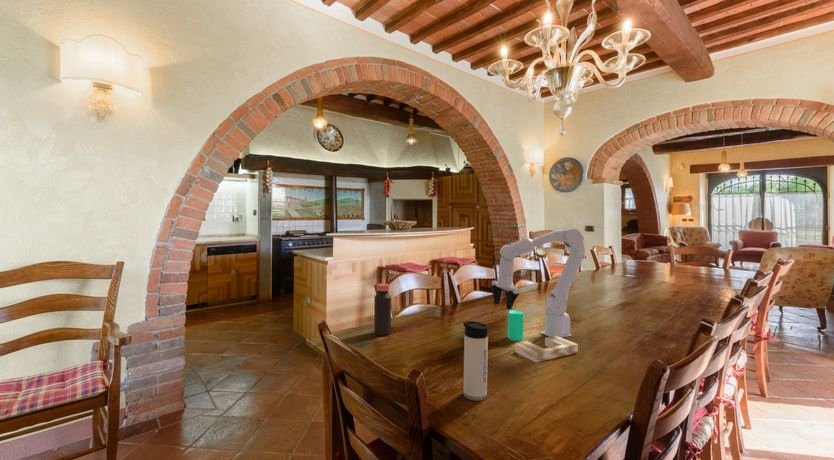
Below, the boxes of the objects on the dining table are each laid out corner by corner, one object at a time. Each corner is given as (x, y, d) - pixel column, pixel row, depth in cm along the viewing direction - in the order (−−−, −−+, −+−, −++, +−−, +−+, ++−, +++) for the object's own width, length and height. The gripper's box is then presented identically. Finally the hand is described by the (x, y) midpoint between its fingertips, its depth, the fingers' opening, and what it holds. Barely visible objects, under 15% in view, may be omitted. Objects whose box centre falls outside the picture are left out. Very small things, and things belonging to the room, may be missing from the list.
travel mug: (460, 389, 100) (461, 319, 99) (483, 389, 101) (484, 319, 100) (464, 401, 94) (466, 326, 93) (489, 400, 94) (491, 326, 93)
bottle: (386, 337, 142) (387, 287, 141) (371, 334, 144) (371, 285, 143) (393, 331, 148) (393, 283, 147) (378, 329, 150) (378, 282, 149)
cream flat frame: (555, 343, 137) (555, 335, 137) (577, 352, 128) (577, 344, 128) (514, 351, 128) (515, 343, 128) (535, 362, 119) (535, 353, 119)
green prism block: (524, 341, 139) (524, 310, 138) (508, 340, 140) (508, 309, 139) (522, 336, 144) (523, 306, 144) (507, 334, 146) (507, 305, 145)
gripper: (487, 270, 152) (484, 302, 153) (510, 277, 139) (506, 312, 140) (500, 270, 155) (497, 301, 156) (524, 277, 142) (520, 311, 143)
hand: (502, 306), depth 148 cm, fingers open, 7 cm apart
